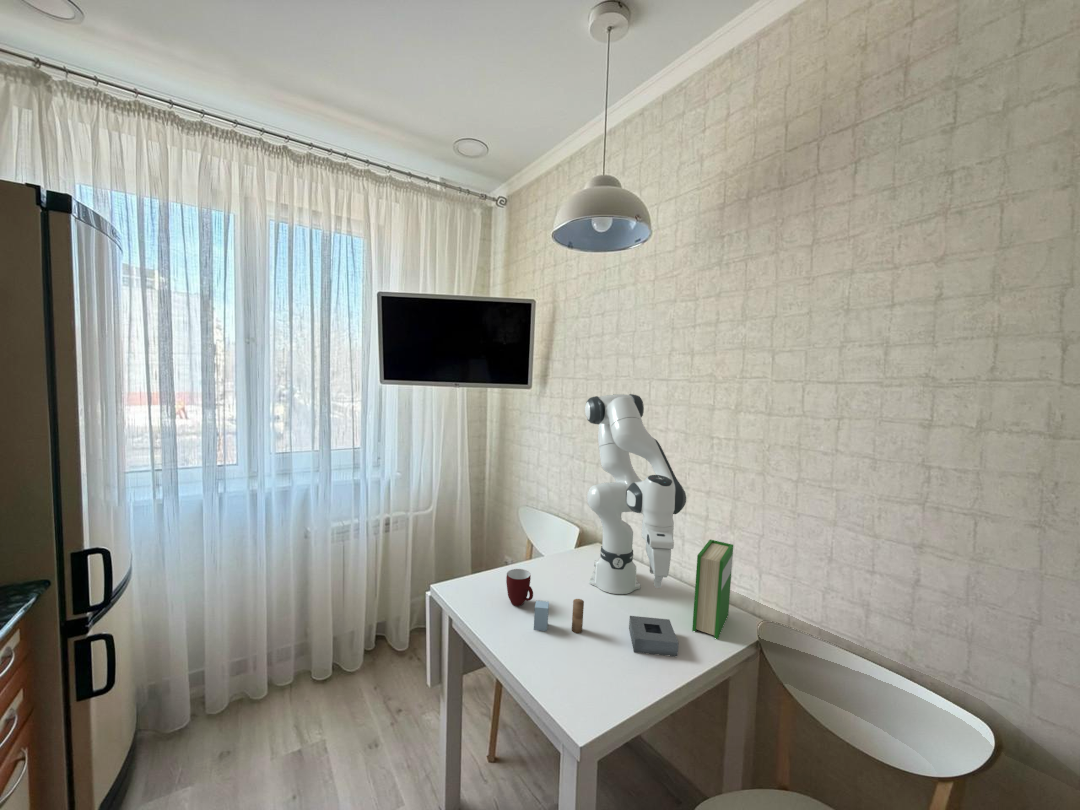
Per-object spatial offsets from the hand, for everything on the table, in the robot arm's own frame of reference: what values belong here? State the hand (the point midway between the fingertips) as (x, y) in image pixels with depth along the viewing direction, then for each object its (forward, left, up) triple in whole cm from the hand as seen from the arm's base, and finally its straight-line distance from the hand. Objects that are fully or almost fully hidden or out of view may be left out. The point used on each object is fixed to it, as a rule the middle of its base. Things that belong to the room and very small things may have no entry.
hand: (655, 579), depth 125 cm
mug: (-14, -41, -19) cm, 47 cm away
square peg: (-2, -33, -19) cm, 38 cm away
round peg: (-2, -22, -19) cm, 29 cm away
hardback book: (-14, +21, -19) cm, 32 cm away
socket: (0, 0, -19) cm, 19 cm away
